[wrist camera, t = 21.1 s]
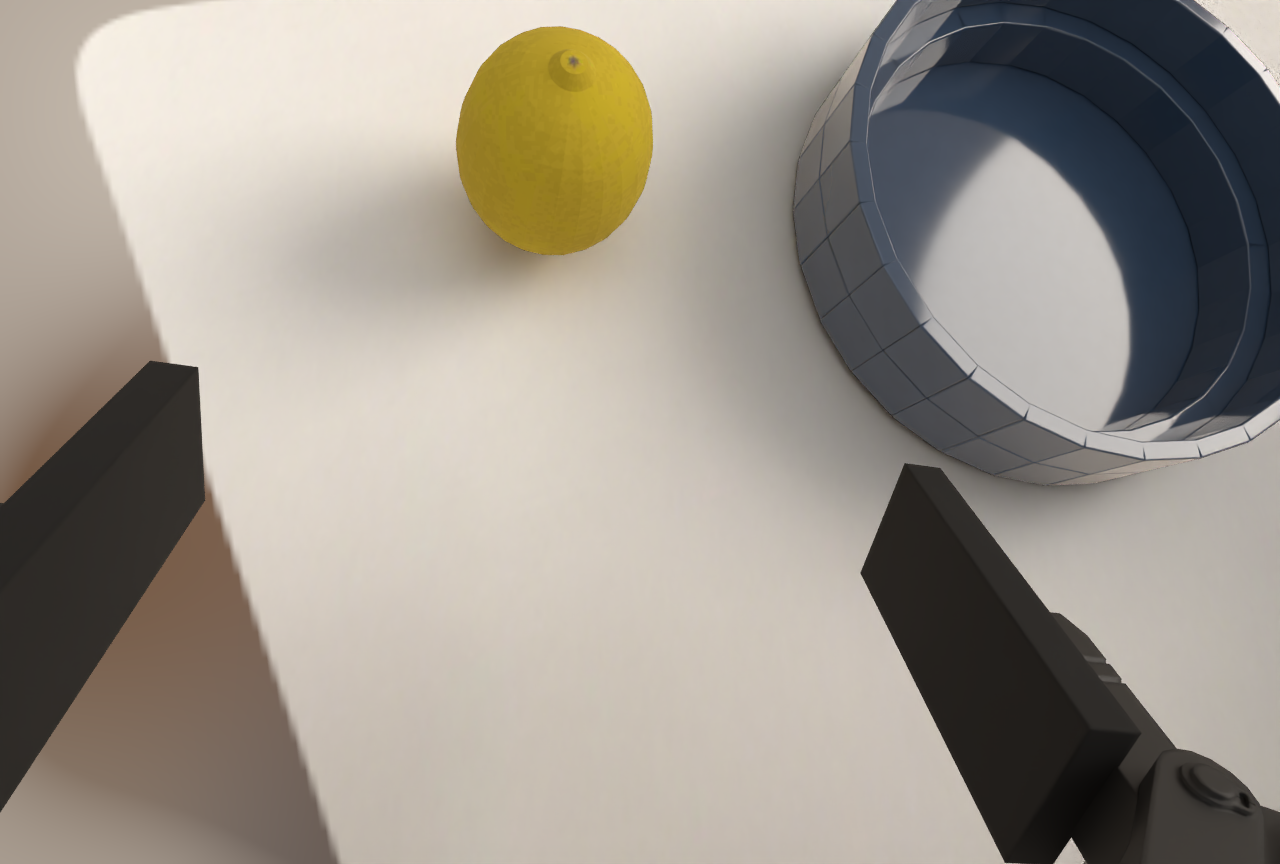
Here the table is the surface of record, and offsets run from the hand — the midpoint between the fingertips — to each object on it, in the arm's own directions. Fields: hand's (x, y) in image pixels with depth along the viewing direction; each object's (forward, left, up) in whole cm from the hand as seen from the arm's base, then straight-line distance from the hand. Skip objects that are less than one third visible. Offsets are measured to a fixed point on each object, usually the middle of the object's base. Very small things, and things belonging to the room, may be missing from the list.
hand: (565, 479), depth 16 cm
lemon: (-6, -9, -10) cm, 15 cm away
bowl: (-22, -1, -10) cm, 24 cm away
